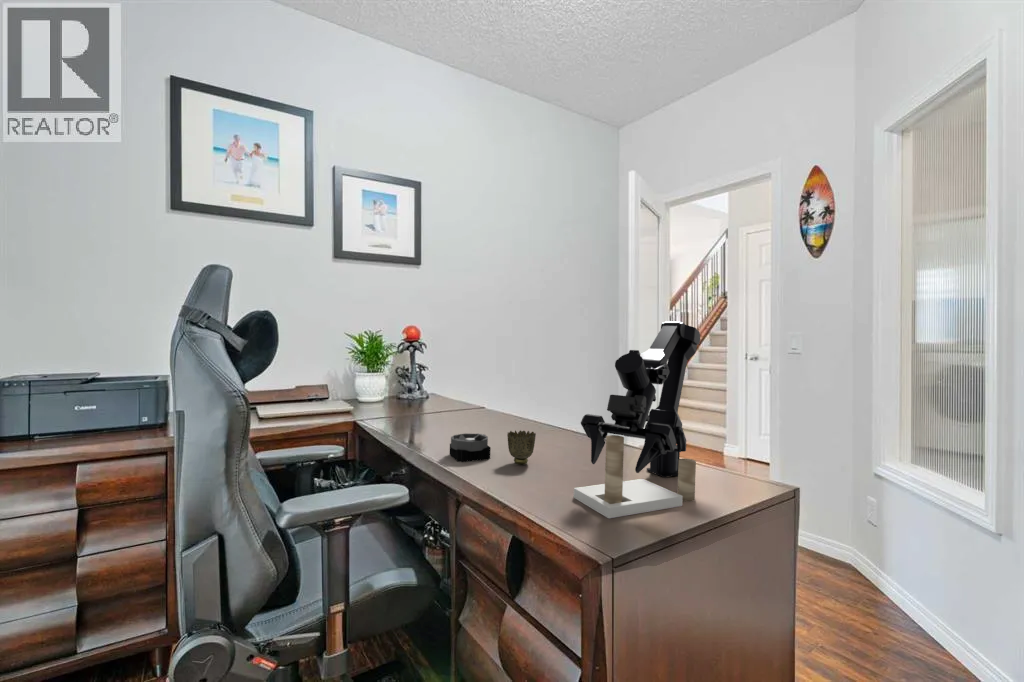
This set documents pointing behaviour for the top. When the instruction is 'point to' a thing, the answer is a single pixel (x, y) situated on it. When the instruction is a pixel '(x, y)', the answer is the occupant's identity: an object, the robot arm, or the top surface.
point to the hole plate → (629, 498)
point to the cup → (521, 445)
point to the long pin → (614, 469)
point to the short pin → (686, 479)
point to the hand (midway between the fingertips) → (613, 467)
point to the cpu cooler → (469, 447)
